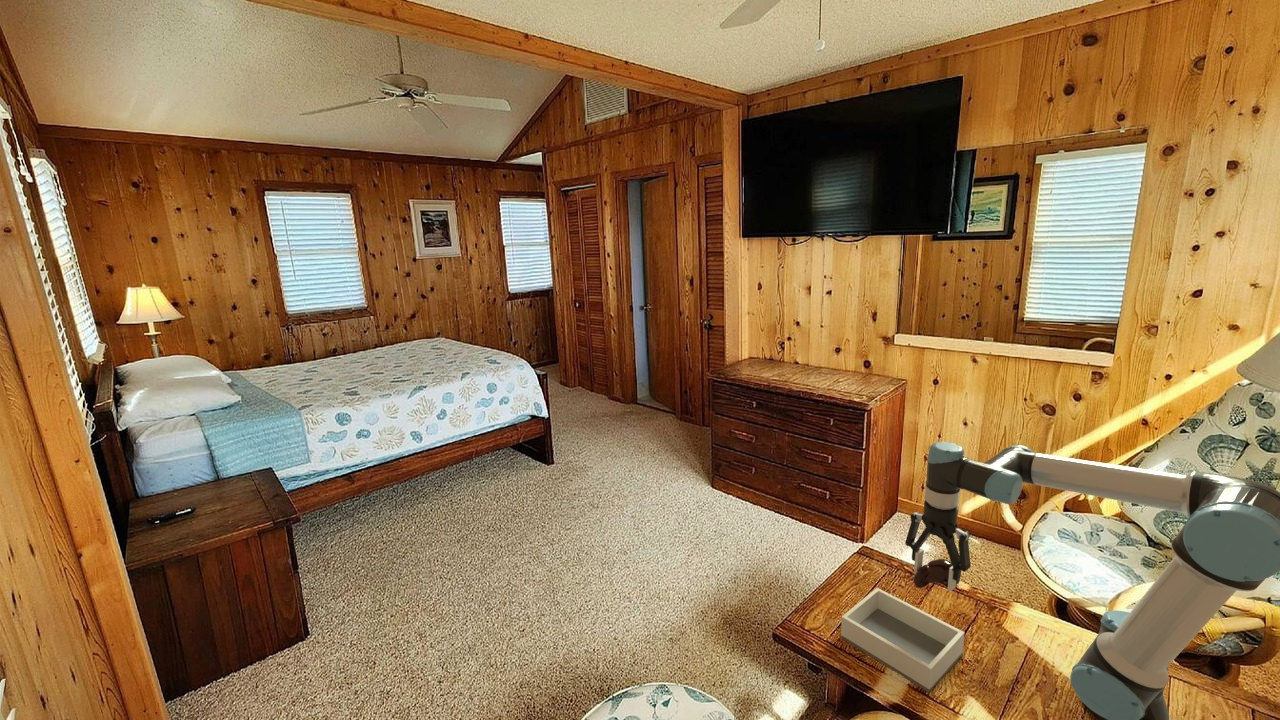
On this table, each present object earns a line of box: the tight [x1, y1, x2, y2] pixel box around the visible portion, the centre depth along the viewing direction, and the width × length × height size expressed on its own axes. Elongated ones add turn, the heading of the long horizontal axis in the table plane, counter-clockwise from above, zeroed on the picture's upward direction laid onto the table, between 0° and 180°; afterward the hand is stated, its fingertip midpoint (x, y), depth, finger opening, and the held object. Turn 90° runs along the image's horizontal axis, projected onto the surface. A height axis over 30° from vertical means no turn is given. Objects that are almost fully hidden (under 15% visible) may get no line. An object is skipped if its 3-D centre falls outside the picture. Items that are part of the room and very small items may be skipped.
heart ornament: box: [913, 558, 961, 589], centre depth 143 cm, size 6×12×11 cm
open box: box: [840, 587, 966, 694], centre depth 145 cm, size 24×18×7 cm
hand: (934, 580), depth 141 cm, fingers closed on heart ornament, 8 cm apart
